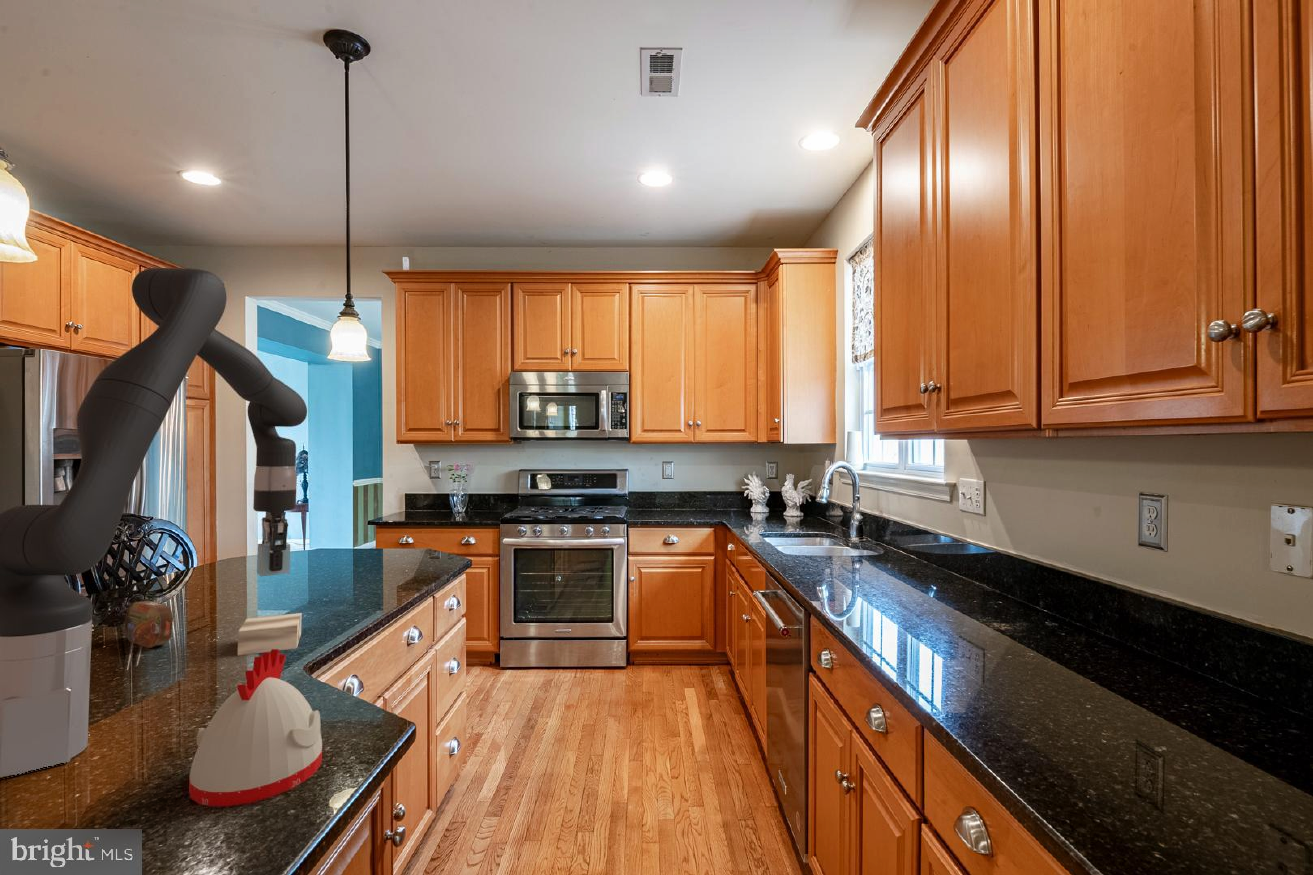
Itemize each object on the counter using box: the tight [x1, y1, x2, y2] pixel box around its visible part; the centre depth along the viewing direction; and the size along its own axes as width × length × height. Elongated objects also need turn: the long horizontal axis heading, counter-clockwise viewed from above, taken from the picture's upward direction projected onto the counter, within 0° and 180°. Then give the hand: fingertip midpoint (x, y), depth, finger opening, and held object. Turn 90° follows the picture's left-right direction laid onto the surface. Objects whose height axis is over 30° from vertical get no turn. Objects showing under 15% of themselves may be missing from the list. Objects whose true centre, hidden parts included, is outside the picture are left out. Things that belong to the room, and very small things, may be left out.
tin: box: [124, 600, 174, 649], centre depth 122 cm, size 15×3×8 cm, turn 62°
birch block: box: [237, 612, 303, 656], centre depth 122 cm, size 10×10×5 cm
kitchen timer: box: [188, 649, 323, 807], centre depth 74 cm, size 14×14×15 cm
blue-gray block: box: [256, 541, 291, 577], centre depth 122 cm, size 5×5×6 cm
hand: (273, 568), depth 122 cm, fingers closed on blue-gray block, 5 cm apart
